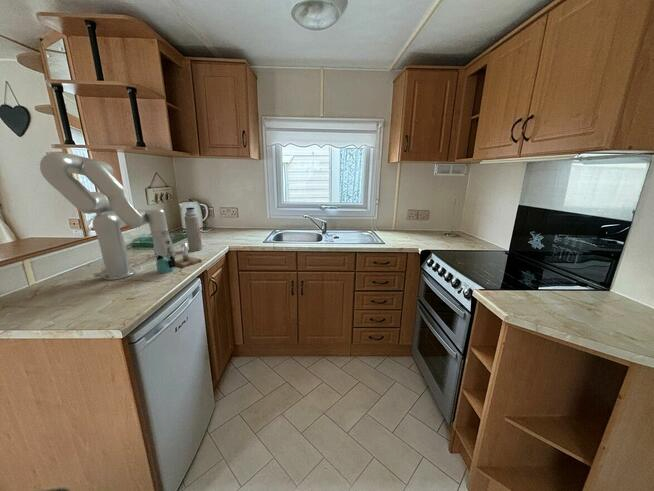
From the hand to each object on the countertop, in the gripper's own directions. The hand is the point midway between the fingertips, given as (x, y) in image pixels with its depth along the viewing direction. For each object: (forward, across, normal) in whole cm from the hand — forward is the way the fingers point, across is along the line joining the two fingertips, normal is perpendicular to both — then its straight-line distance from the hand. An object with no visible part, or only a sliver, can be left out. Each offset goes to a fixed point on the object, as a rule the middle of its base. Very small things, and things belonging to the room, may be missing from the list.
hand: (167, 265), depth 138 cm
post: (+1, +3, -12) cm, 13 cm away
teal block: (+3, +1, +1) cm, 3 cm away
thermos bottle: (+3, +23, -32) cm, 40 cm away
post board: (+3, +3, -12) cm, 13 cm away
